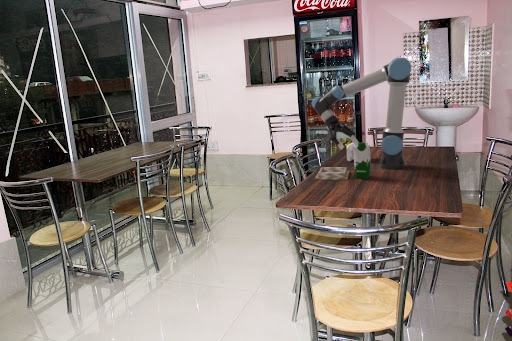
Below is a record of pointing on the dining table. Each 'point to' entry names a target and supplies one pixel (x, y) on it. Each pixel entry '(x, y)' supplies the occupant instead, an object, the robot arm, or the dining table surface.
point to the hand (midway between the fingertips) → (350, 146)
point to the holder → (332, 173)
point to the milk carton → (362, 161)
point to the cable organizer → (351, 151)
